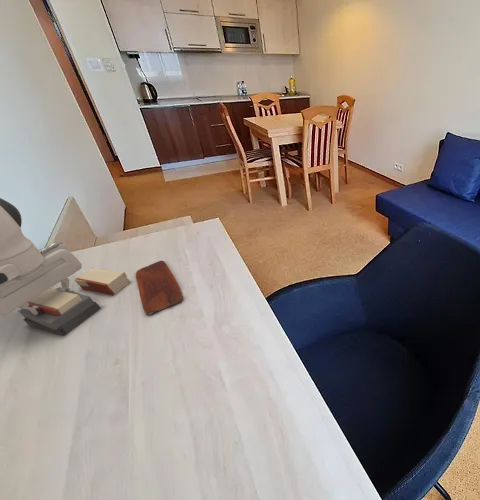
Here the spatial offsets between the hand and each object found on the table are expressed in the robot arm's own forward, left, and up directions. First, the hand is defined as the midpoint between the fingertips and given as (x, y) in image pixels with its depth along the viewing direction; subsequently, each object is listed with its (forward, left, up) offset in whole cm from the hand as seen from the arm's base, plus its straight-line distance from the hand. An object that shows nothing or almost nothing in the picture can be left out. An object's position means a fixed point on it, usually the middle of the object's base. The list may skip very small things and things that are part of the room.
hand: (53, 302), depth 81 cm
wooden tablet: (+16, +17, -6) cm, 24 cm away
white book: (0, 0, 0) cm, 0 cm away
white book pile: (-1, +13, -6) cm, 14 cm away
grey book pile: (0, 0, -6) cm, 6 cm away
